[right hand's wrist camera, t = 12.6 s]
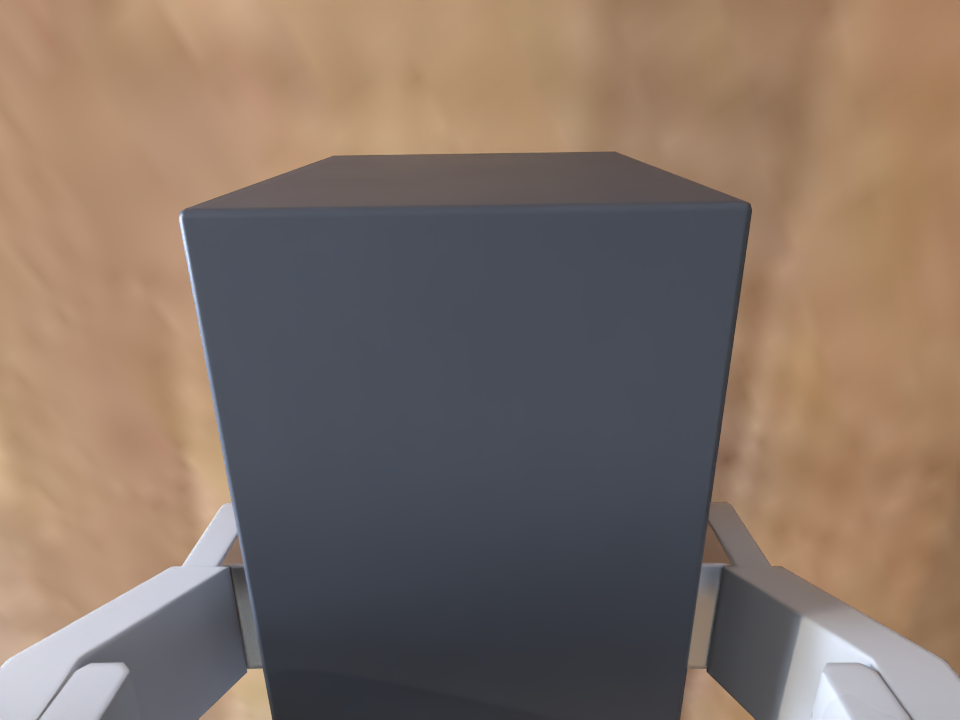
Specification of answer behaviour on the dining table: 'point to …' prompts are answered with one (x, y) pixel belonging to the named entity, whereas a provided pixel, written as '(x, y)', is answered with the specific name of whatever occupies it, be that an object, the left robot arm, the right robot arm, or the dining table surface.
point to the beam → (470, 427)
